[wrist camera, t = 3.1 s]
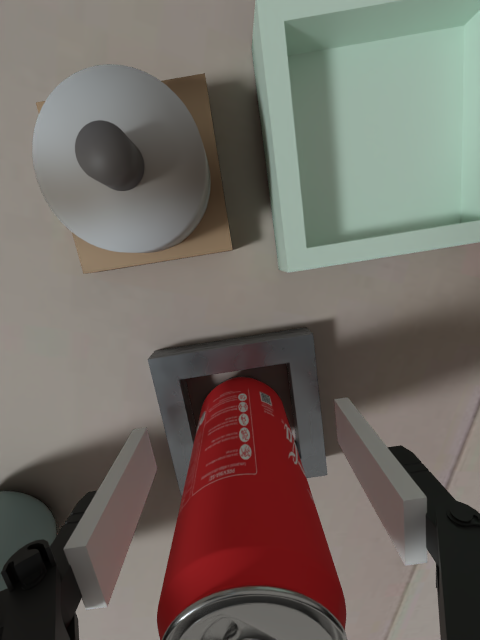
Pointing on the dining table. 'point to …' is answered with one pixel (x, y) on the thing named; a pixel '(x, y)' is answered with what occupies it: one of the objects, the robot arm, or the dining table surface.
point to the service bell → (131, 167)
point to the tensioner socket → (234, 356)
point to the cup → (22, 524)
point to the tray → (369, 126)
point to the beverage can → (248, 532)
